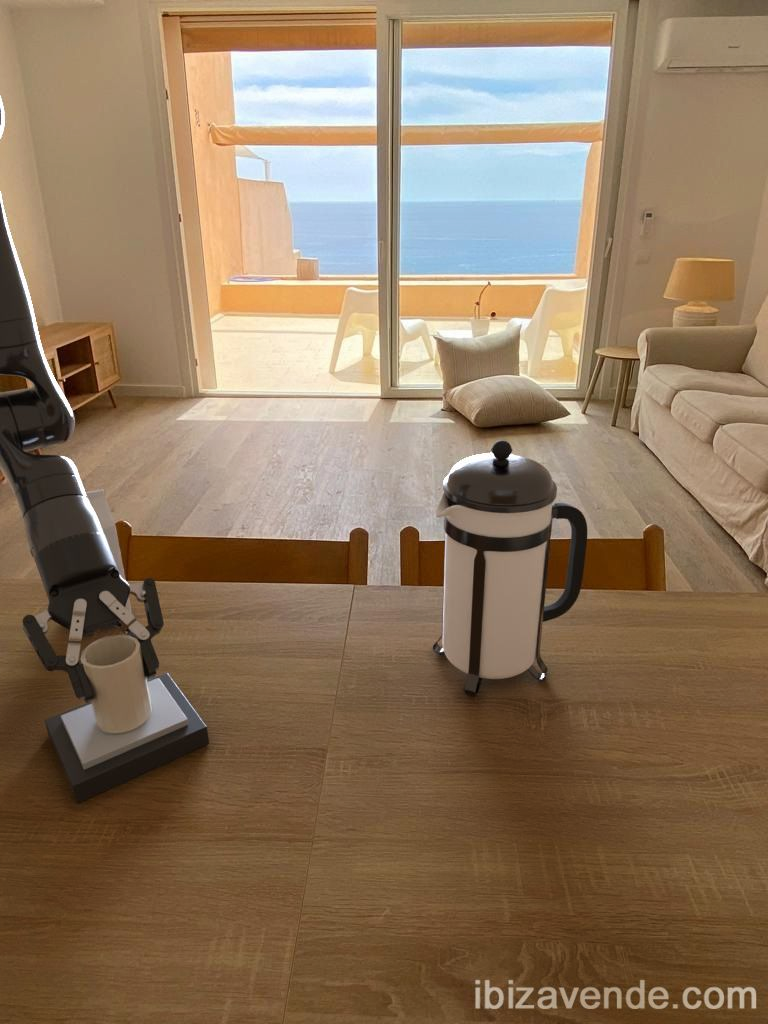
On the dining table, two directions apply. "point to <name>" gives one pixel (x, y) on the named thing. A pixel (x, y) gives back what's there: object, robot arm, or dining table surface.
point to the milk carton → (108, 529)
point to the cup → (117, 683)
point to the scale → (125, 741)
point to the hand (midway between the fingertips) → (122, 687)
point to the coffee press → (501, 564)
